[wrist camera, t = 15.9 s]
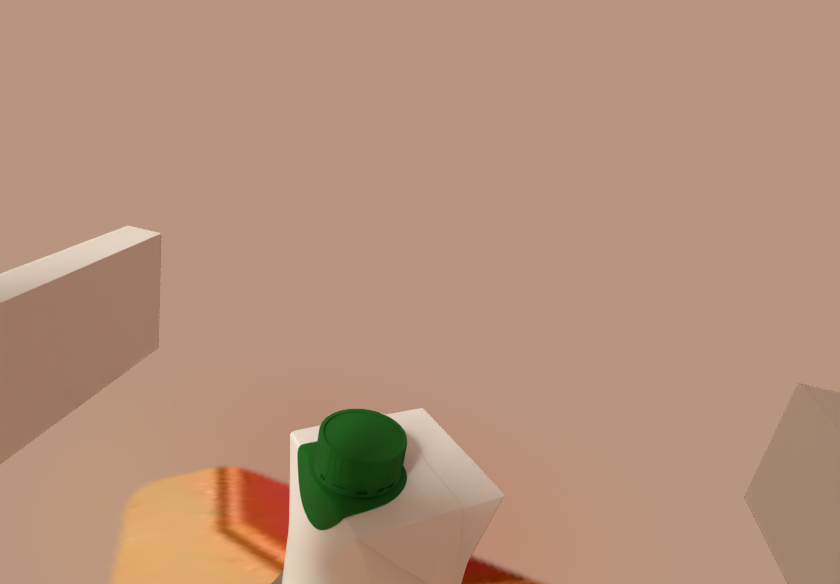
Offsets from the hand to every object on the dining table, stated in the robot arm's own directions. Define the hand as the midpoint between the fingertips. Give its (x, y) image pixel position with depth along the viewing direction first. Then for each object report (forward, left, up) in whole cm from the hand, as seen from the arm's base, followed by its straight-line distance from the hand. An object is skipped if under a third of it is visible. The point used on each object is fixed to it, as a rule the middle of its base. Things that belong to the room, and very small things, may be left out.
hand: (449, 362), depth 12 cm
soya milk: (+5, -12, -30) cm, 33 cm away
